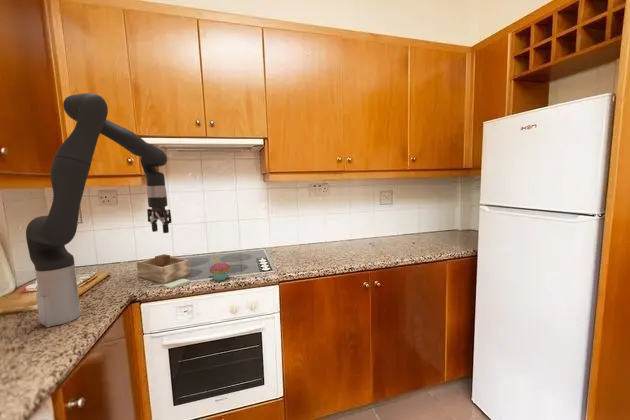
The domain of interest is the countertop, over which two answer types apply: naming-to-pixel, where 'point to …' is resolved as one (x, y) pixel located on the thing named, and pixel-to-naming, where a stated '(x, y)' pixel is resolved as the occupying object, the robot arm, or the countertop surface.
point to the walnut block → (162, 260)
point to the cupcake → (219, 270)
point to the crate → (163, 270)
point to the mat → (176, 283)
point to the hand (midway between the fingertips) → (160, 232)
